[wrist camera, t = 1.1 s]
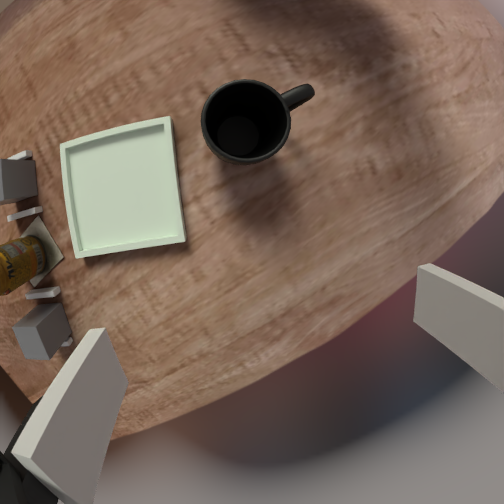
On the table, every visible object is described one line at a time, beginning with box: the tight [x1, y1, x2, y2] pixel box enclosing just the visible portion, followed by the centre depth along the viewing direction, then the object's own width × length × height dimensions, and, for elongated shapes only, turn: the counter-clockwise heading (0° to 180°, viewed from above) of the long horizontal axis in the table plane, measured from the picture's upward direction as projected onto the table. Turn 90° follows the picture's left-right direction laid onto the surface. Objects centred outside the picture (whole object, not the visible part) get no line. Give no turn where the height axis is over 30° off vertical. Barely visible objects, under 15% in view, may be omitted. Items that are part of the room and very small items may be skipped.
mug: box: [201, 79, 315, 165], centre depth 28 cm, size 8×12×10 cm
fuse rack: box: [0, 150, 73, 360], centre depth 28 cm, size 29×6×8 cm, turn 7°
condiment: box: [0, 215, 63, 296], centre depth 26 cm, size 7×8×12 cm
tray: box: [60, 116, 187, 258], centre depth 31 cm, size 15×15×2 cm
